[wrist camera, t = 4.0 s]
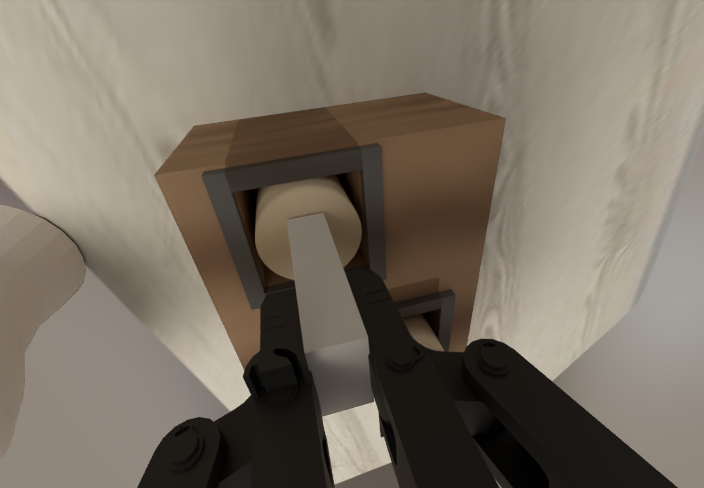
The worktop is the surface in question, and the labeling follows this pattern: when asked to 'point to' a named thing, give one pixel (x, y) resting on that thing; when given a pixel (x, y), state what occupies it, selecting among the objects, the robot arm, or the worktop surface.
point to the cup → (29, 297)
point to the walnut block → (362, 190)
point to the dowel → (300, 202)
